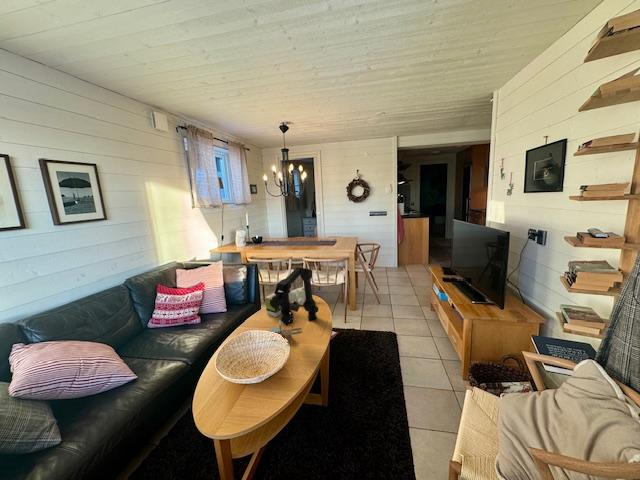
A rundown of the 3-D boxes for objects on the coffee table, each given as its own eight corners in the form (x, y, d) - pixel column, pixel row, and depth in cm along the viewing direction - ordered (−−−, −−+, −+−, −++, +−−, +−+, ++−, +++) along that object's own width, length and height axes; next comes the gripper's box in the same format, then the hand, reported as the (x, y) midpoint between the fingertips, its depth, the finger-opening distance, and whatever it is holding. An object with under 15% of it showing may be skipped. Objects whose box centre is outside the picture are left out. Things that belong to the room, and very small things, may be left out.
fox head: (293, 302, 201) (315, 294, 210) (285, 288, 213) (306, 281, 222) (293, 313, 209) (315, 305, 217) (285, 300, 220) (306, 293, 229)
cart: (269, 331, 174) (268, 321, 172) (281, 330, 175) (280, 320, 173) (269, 336, 168) (268, 326, 166) (281, 334, 169) (280, 324, 168)
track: (270, 331, 175) (270, 331, 175) (301, 327, 178) (301, 326, 178) (270, 338, 167) (270, 337, 167) (302, 333, 171) (302, 332, 171)
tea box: (280, 306, 211) (278, 289, 208) (289, 309, 205) (287, 292, 202) (266, 314, 199) (264, 296, 196) (275, 317, 193) (273, 299, 190)
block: (284, 338, 167) (284, 331, 165) (291, 337, 167) (291, 330, 166) (285, 342, 162) (284, 335, 161) (292, 341, 163) (291, 334, 162)
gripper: (299, 306, 151) (300, 330, 155) (296, 293, 169) (298, 315, 173) (280, 308, 150) (282, 332, 153) (279, 295, 168) (281, 317, 171)
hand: (286, 324), depth 162 cm, fingers open, 4 cm apart
